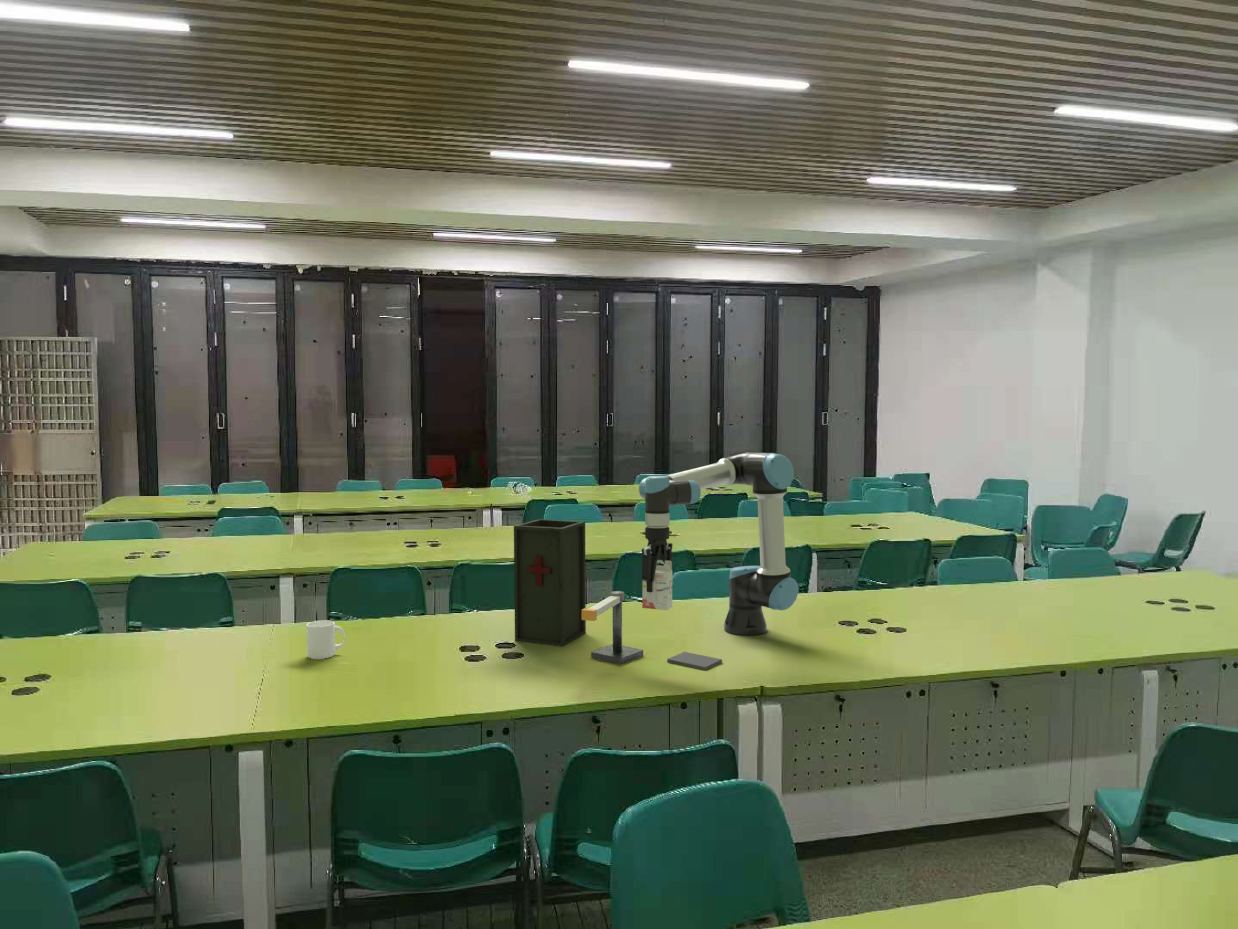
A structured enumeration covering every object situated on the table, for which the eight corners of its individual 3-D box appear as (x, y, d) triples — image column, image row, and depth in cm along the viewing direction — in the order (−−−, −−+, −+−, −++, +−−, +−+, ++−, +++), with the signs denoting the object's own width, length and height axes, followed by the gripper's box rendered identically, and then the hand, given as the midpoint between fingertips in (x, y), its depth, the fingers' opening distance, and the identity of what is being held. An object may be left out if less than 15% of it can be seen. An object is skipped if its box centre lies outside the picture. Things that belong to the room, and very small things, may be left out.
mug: (348, 656, 279) (347, 623, 278) (309, 661, 273) (308, 628, 272) (343, 649, 286) (342, 617, 286) (305, 654, 281) (304, 622, 280)
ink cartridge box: (641, 608, 266) (641, 561, 265) (646, 605, 271) (646, 558, 270) (668, 610, 263) (668, 563, 262) (672, 607, 268) (672, 560, 267)
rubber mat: (684, 654, 280) (684, 651, 279) (721, 662, 271) (721, 659, 271) (667, 662, 272) (667, 659, 272) (705, 670, 263) (705, 667, 263)
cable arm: (613, 600, 279) (613, 590, 279) (626, 601, 277) (626, 591, 277) (580, 619, 254) (580, 609, 254) (594, 621, 252) (594, 610, 252)
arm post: (613, 649, 286) (613, 596, 284) (643, 655, 278) (643, 601, 277) (591, 658, 276) (591, 602, 275) (621, 664, 269) (621, 608, 268)
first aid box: (514, 641, 296) (513, 525, 293) (539, 628, 313) (538, 519, 310) (563, 646, 289) (562, 528, 286) (585, 633, 306) (585, 521, 303)
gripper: (664, 521, 275) (664, 593, 277) (629, 528, 260) (629, 604, 262) (684, 523, 271) (684, 596, 272) (649, 531, 255) (649, 607, 257)
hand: (657, 600), depth 267 cm, fingers closed on ink cartridge box, 6 cm apart
